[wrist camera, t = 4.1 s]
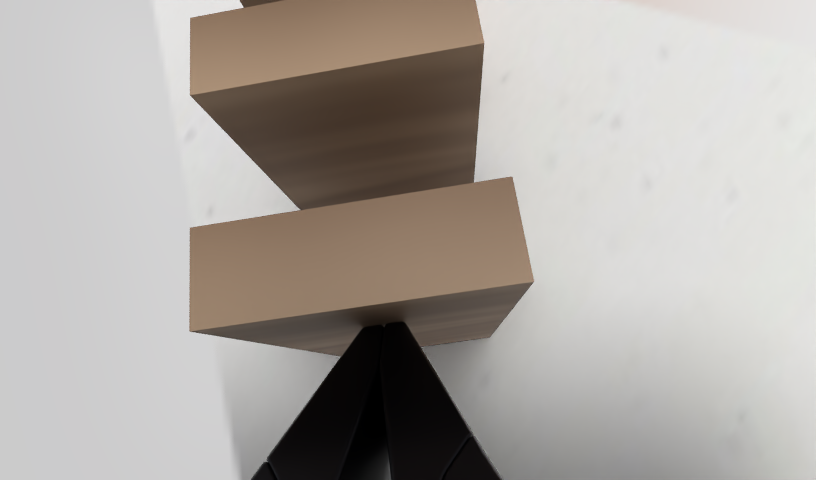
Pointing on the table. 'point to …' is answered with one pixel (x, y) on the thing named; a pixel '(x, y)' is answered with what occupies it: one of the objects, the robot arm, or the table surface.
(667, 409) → the table surface
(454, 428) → the robot arm
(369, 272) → the domino
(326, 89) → the domino
